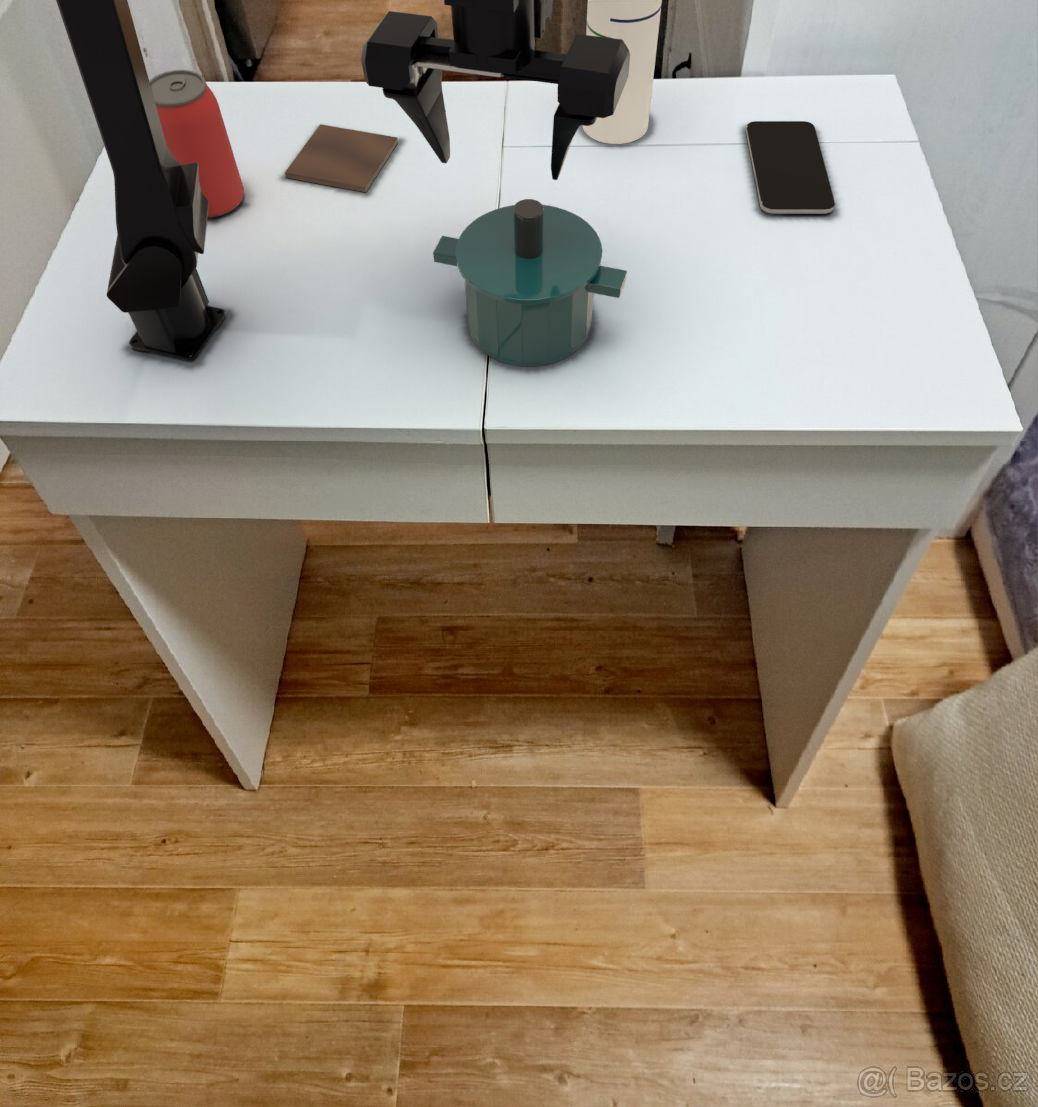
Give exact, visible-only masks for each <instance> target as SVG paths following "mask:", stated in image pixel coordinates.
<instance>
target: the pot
mask: <svg viewBox="0 0 1038 1107" xmlns="http://www.w3.org/2000/svg"><path fill="white" fill-rule="evenodd" d="M458 240H459V238H457V237H451V236H447V235H442V236H441V237H440V239H439V240H438V242H437V245H436V246H435V248H434V250H433V251H432V255H433V262H434V263H438V264H444V265H448V266H454V267H457V263H456V246H457V242H458ZM627 277H628V270H625V269H620V268H615V267H610V266H605V265H600V268H599V270H598V272H597V274H596V275H595V277H594V278H593V279H592V280H591V281H590V282H589V283H588V284H587V285H586V286H585V287H584V288H582V289H581V290H580V291H578V292H576V293H574V294H573V295H570V296H568V297H566V298H563V299H560V300H557V301H553V302H548V303H542V304H514V303H507V302H503V301H499V300H496V299H493V298H490V297H488V296H486V295H484V294H482V293H480V292H479V291H477V290H476V289H474V288H473V287H472V286H470V285H469V284H468V283H467V282H466V280H465V279H464V289H465V300H466V312H467V313H466V315H467V324H468V331H469V334H470V337H471V340H472V341H473V342H474V344H475V346H477V348H478V349H479V350H480V351H482V352H483V353H484V354H485V355H486V356H488V357H490V358H492V359H494V360H496V361H498V362H501V363H503V364H507V365H511V366H518V367H540V366H547V365H550V364H554V363H558V362H560V361H562V360H565V359H567V358H568V357H570V356H571V355H573V354H574V353H576V351H578V350H579V349H580V348H581V347H582V346H583V344H584V343H585V342H586V340H587V338H588V336H589V334H590V330H591V324H592V322H593V305H594V294H596V295H601V296H606V297H611V298H616V299H620V298H621V296H622V293H623V290H624V287H625V283H626V281H627Z"/></svg>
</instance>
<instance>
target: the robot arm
mask: <svg viewBox="0 0 1038 1107" xmlns="http://www.w3.org/2000/svg"><path fill="white" fill-rule="evenodd" d="M553 1H554V0H443V4H444V6H449V7H450V13H451V25H452V36H453V39H450V38H444V37H443V38H442V37H439V31H438V23H437V21H436V20H435V19H434V17H433V16H432V15H425V14H416V13H409V12H400V11H392V10H388V11H387V13H386V14H385V15H384V16H383V18H382V19H381V20H380V21H379V23H378V24H377V26H376V27H375V28H374V30H373V31H372V33H371V34H370V36H369V37H368V39H367V40H366V42H365V43H364V44H363V46H362V50H361V58H360V60H361V65H362V73H363V79H364V82H365V83H366V84H367V85H368V87H374V88H379V89H380V88H381V89H382V93H383V96H384V97H385V98H386V99H391V100H394V101H395V102H396V104H397V105H398V106H399V107H400V108H401V109H402V111H403V112H404V113H405V114H406V115H407V116H408V117H409V119H410V120H411V121H412V122H413V124H414V125H415V126H416V128H417V129H418V130H419V132H420V133H421V135H422V136H423V138H424V139H425V141H426V142H427V143H428V145H429V146H430V148H431V149H432V151H433V152H434V153H435V155H436V157H437V158H438V159H439V161H440V162H441V164H448V162H449V161H450V158H451V139H450V130H449V125H448V118H447V112H446V105H445V100H444V93H443V83H442V82H443V71H448V72H455V73H464V74H472V75H476V76H477V75H478V76H486V77H494V78H507V79H508V78H509V79H516V80H523V81H532V82H538V83H546V84H553V85H557V103H558V105H557V108H556V109H555V112H554V114H553V118H552V119H553V120H552V139H551V156H550V171H551V179H552V180H553V181H558V180H559V177H560V175H561V172H562V169H563V166H564V164H565V161H566V158H567V156H568V153H569V150H570V147H571V144H572V141H573V140H574V137H575V135H576V134H577V132H578V130H579V129H580V127H581V126H582V125H583V126H590V125H593V124H594V123H595V121H596V119H597V117H598V118H606V117H608V116H611V115H613V114H614V111H615V109H616V106H617V104H618V101H619V99H620V96H621V94H622V91H623V89H624V86H625V84H626V81H627V79H628V76H629V63H630V52H629V49H628V48H627V46H626V44H625V43H624V41H623V40H622V39H614V38H606V37H598V36H589V35H586V34H580V33H576V34H575V36H574V39H573V40H572V43H571V45H570V47H569V49H568V50H567V53H562V52H555V51H554V52H553V51H545V50H537V49H536V48H535V47H536V46H535V45H536V44H535V43H536V42H535V40H536V39H538V40H541V39H542V38H543V36H544V34H545V33H546V20H551V19H552V16H553V15H552V13H553ZM55 2H56V4H57V8H58V10H59V14H60V17H61V20H62V23H63V26H64V28H65V31H66V34H67V38H68V41H69V44H70V47H71V49H72V50H71V51H72V52H73V56H74V59H75V62H76V65H77V68H78V70H79V74H80V77H81V80H82V83H83V86H84V89H85V92H86V96H87V97H88V98H87V99H88V102H89V104H90V106H91V110H92V114H93V116H94V119H95V122H96V125H97V128H98V131H99V134H100V138H101V140H102V142H103V143H102V144H103V146H104V149H105V152H106V155H107V159H108V160H109V164H110V167H111V170H112V173H113V181H114V205H115V206H114V208H115V225H116V240H115V245H114V251H113V257H112V262H111V267H110V272H109V278H108V285H107V290H106V298H108V300H109V301H110V302H112V304H114V305H115V306H116V307H117V309H119V310H120V311H121V313H126V314H127V313H128V315H129V317H130V320H131V321H132V323H133V325H134V327H135V330H136V331H135V333H134V334H133V336H132V337H131V338H130V340H129V342H128V344H129V346H130V348H131V349H133V350H136V351H140V352H141V351H142V352H146V353H150V354H155V355H159V356H163V357H167V358H172V359H175V360H176V359H177V360H181V361H185V362H191V363H192V362H194V361H196V360H198V357H200V354H201V353H202V351H203V350H204V349H205V347H206V346H207V344H208V343H209V341H210V340H211V339H212V337H213V335H214V334H215V333H216V331H217V330H218V329H219V327H220V326H221V324H222V323H223V321H224V320H225V318H226V317H227V313H226V311H225V309H224V308H220V307H216V306H211V305H209V303H210V300H209V297H208V295H207V292H206V290H205V288H204V285H203V282H202V280H201V277H200V274H199V271H198V270H197V268H198V267H197V266H198V258H199V254H200V255H204V254H205V247H206V238H207V237H206V235H207V226H208V217H207V216H208V206H209V201H208V200H207V198H206V197H205V196H204V194H203V192H202V190H201V187H200V183H199V168H198V163H191V164H185V165H180V163H179V162H178V161H177V160H176V159H175V158H174V156H173V155H172V154H171V153H170V151H169V149H168V147H167V144H166V141H165V137H164V133H163V130H162V126H161V122H160V119H159V115H158V111H157V108H156V104H155V100H154V97H153V93H152V89H151V86H150V82H149V81H150V79H149V74H148V71H147V67H146V64H145V59H144V57H143V52H142V49H141V46H140V41H139V38H138V35H137V31H136V27H135V23H134V20H133V16H132V13H131V8H130V5H129V1H128V0H55Z"/></svg>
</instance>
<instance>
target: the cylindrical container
mask: <svg viewBox="0 0 1038 1107" xmlns="http://www.w3.org/2000/svg"><path fill="white" fill-rule="evenodd" d="M662 3H663V0H587V7H586V8H587V9H586V30H585V35H589V36H598V37H606V38H614V39H622V40H623V41H624V43H625V44H626V46H627V48H628V49H629V52H630V63H629V76H628V79H627V81H626V84H625V86H624V89H623V91H622V94H621V96H620V99H619V101H618V104H617V106H616V109H615V111H614V114H613V115H611V116H608V117H606V118H598V117H597V119H596V121H595V123H594V124H593V125H590V126H583V125H581V126H582V130H583V131H584V133H585V134H586V135H587V136H588V137H589V138H591V139H592V140H595V141H597V142H600V143H603V144H609V145H623V144H628V143H629V144H630V143H632V142H635V141H637V140H639V139H641V138H642V137H643V136H645V134H646V133H647V131H648V129H649V123H650V122H649V121H650V113H651V103H652V93H653V85H654V76H655V75H654V74H655V66H656V59H657V58H656V57H657V50H658V40H659V31H660V23H661V12H662Z"/></svg>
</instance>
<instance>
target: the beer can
mask: <svg viewBox="0 0 1038 1107" xmlns="http://www.w3.org/2000/svg"><path fill="white" fill-rule="evenodd" d="M149 82H150V86H151V89H152V93H153V97H154V100H155V104H156V108H157V111H158V115H159V119H160V122H161V126H162V130H163V133H164V137H165V141H166V144H167V147H168V149H169V151H170V153H171V154H172V155H173V156H174V158H175V159H176V160H177V161H178V162H179V163H180V165H185V164H191V163H198V168H199V183H200V187H201V190H202V192H203V194H204V196H205V197H206V198H207V200H208V201H209V206H208V216H207V218H217V217H221V216H224V215H226V214H228V213H230V212H232V211H233V210H235V209H236V208H237V207H238V206H239V205H240V204H241V202H242V201H243V199H244V195H245V188H244V184H243V181H242V177H241V175H240V171H239V168H238V164H237V161H236V158H235V154H234V151H233V147H232V144H231V140H230V138H229V135H228V131H227V128H226V124H225V122H224V118H223V114H222V112H221V108H220V104H219V102H218V99H217V97H216V96H215V94H214V92H213V90H212V89H211V88H210V87H209V85H208V84H207V81H206V79H205V77H204V76H203V75H202V74H201V73H199V72H196V71H194V70H189V69H173V70H169V71H165V72H162V73H159V74H157V75H155V76H154V77H152V78H151V79H149Z"/></svg>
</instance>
